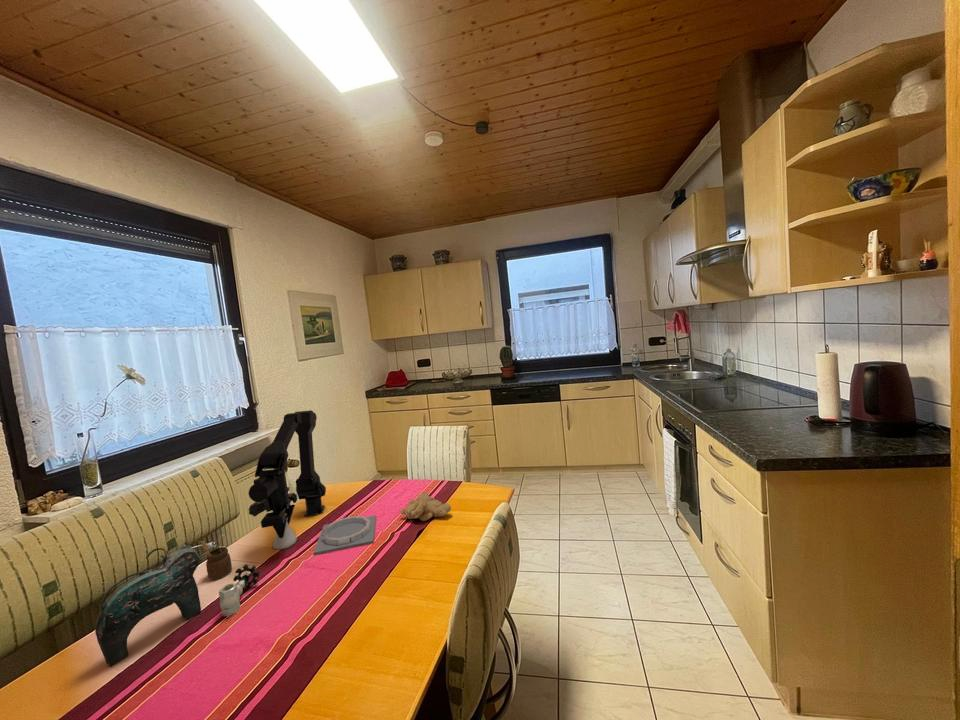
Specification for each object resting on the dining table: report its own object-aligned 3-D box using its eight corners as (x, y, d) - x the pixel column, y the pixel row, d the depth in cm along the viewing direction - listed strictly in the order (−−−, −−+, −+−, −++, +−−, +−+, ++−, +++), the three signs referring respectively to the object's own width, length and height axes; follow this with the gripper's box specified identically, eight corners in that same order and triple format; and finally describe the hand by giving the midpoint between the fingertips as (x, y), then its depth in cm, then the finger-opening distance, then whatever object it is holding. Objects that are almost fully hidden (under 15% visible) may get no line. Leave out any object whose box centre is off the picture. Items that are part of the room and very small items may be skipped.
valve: (241, 615, 95) (262, 584, 107) (237, 590, 94) (258, 561, 106) (212, 621, 94) (236, 588, 106) (208, 595, 94) (233, 566, 105)
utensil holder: (236, 569, 115) (230, 531, 114) (215, 583, 109) (208, 542, 108) (224, 566, 117) (218, 528, 116) (202, 579, 112) (196, 539, 111)
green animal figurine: (200, 602, 101) (188, 530, 100) (212, 609, 98) (200, 534, 96) (98, 662, 84) (82, 576, 83) (109, 673, 81) (92, 583, 79)
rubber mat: (324, 527, 136) (323, 525, 136) (376, 517, 140) (376, 515, 140) (313, 555, 119) (313, 552, 119) (373, 543, 122) (373, 540, 122)
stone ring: (327, 526, 135) (326, 521, 135) (371, 517, 138) (371, 512, 138) (318, 549, 120) (318, 543, 120) (369, 539, 123) (368, 534, 123)
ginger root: (395, 510, 141) (398, 488, 141) (436, 508, 148) (439, 488, 148) (405, 530, 127) (409, 506, 127) (450, 527, 134) (453, 504, 134)
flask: (301, 537, 130) (297, 509, 130) (288, 550, 123) (284, 520, 122) (281, 538, 131) (277, 510, 130) (267, 550, 124) (263, 521, 123)
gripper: (260, 482, 133) (266, 525, 134) (238, 505, 115) (246, 554, 116) (294, 476, 135) (300, 519, 137) (279, 498, 117) (286, 547, 118)
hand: (283, 533), depth 127 cm, fingers closed on flask, 5 cm apart
